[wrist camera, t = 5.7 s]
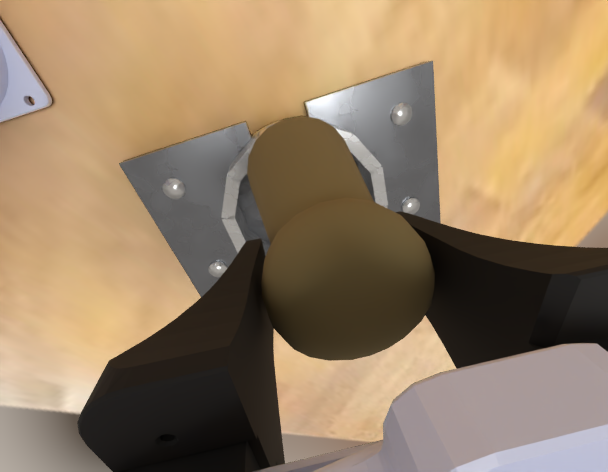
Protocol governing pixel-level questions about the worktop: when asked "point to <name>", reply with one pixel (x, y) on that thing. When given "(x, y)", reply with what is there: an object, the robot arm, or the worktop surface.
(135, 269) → the worktop surface
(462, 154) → the worktop surface
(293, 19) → the worktop surface
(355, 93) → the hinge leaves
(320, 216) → the olive brown pawn
